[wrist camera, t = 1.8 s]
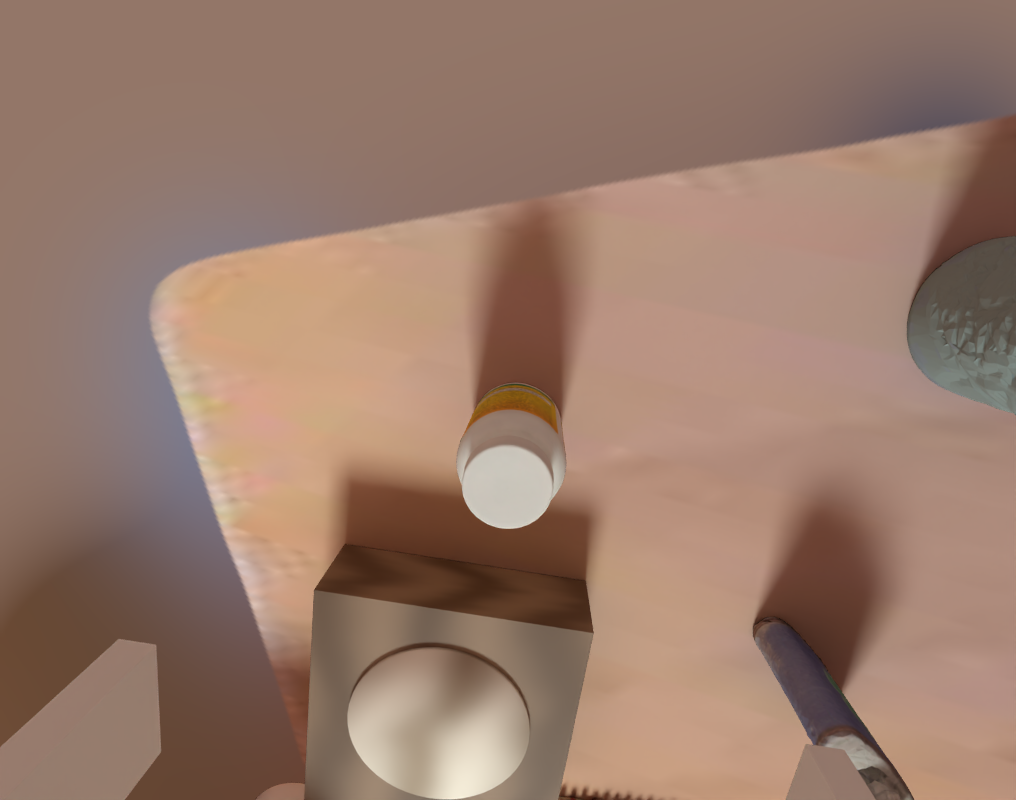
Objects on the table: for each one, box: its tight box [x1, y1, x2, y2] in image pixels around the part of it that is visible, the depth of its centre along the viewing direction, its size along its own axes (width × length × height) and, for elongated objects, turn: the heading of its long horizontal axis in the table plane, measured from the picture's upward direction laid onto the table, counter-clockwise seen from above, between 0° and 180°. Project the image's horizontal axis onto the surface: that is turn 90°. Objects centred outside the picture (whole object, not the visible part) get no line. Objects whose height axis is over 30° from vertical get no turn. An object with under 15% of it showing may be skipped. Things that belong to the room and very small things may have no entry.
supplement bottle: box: [456, 383, 566, 529], centre depth 27 cm, size 5×5×10 cm
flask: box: [753, 617, 914, 800], centre depth 30 cm, size 9×3×11 cm, turn 36°
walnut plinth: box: [304, 544, 594, 800], centre depth 34 cm, size 16×16×5 cm
